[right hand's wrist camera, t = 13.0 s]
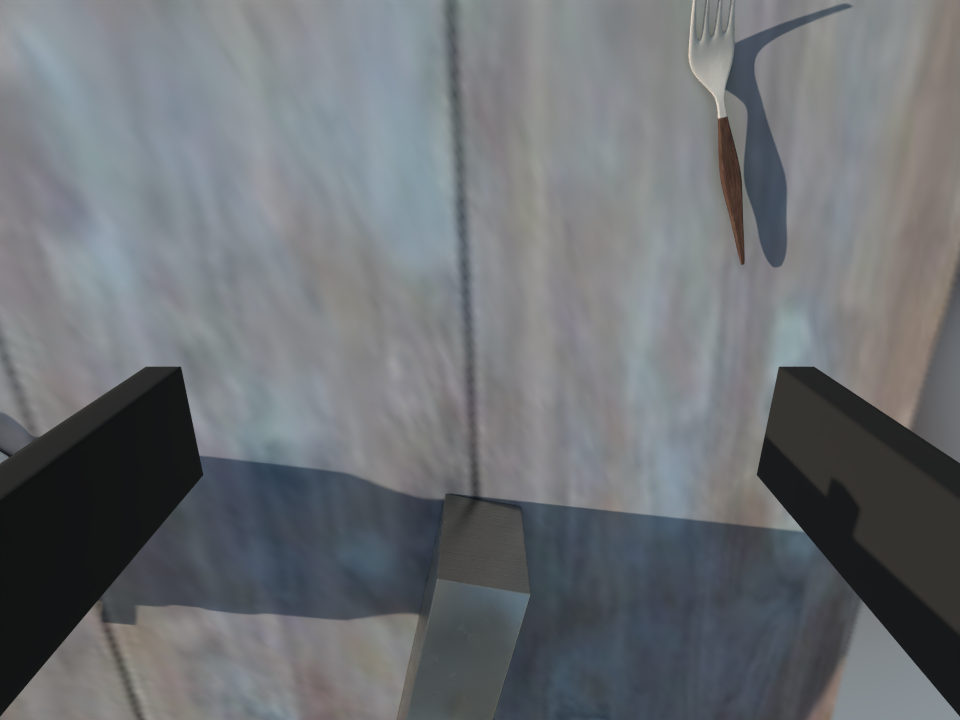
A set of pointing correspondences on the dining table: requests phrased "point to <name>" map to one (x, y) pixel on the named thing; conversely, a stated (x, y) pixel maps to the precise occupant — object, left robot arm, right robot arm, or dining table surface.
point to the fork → (720, 104)
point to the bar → (468, 613)
